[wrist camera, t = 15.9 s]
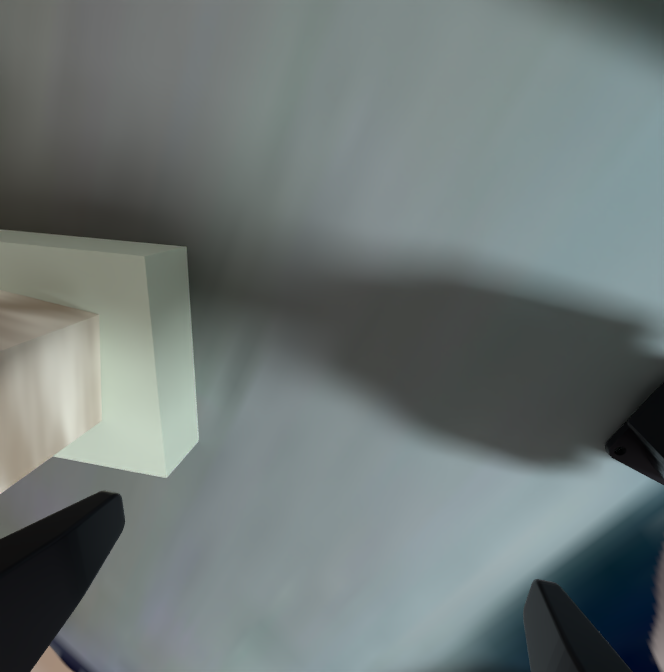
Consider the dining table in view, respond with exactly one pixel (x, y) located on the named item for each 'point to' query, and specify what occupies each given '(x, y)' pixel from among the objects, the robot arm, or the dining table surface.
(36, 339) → the cream block
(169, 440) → the sage block
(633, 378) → the dining table surface
